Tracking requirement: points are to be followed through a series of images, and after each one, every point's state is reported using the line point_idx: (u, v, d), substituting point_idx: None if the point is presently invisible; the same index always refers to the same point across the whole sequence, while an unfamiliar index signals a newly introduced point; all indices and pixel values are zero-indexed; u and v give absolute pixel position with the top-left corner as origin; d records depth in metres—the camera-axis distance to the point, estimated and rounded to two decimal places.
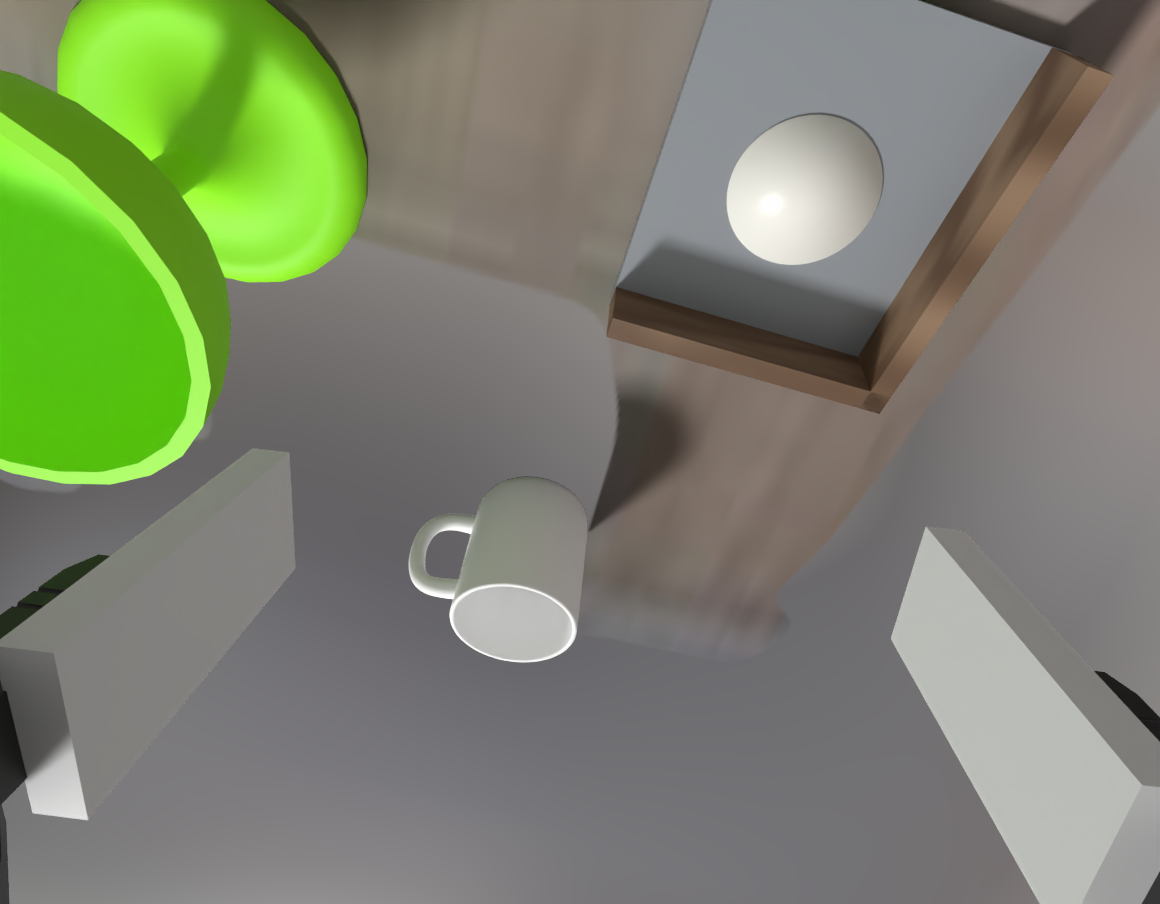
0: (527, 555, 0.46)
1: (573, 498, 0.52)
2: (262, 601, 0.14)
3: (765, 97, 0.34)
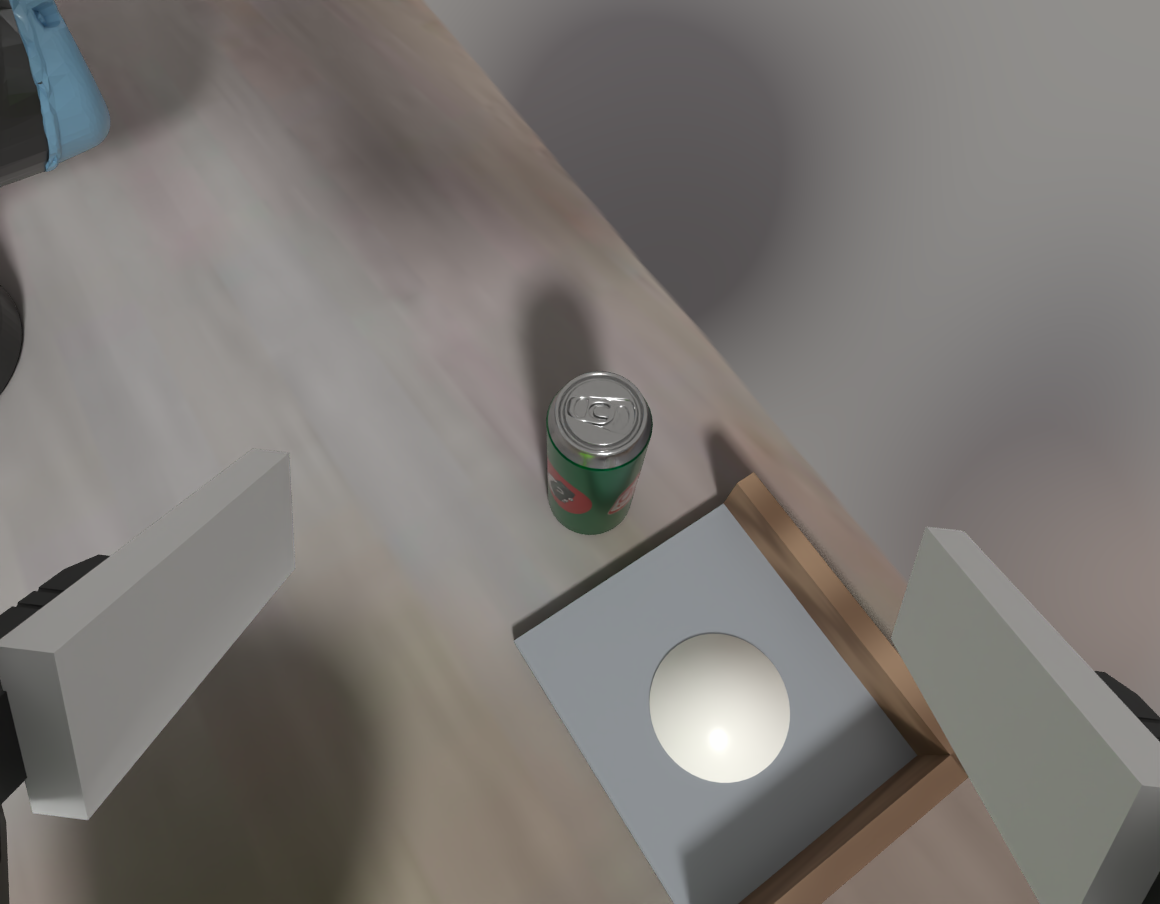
0: None
1: None
2: (262, 601, 0.14)
3: (625, 685, 0.39)
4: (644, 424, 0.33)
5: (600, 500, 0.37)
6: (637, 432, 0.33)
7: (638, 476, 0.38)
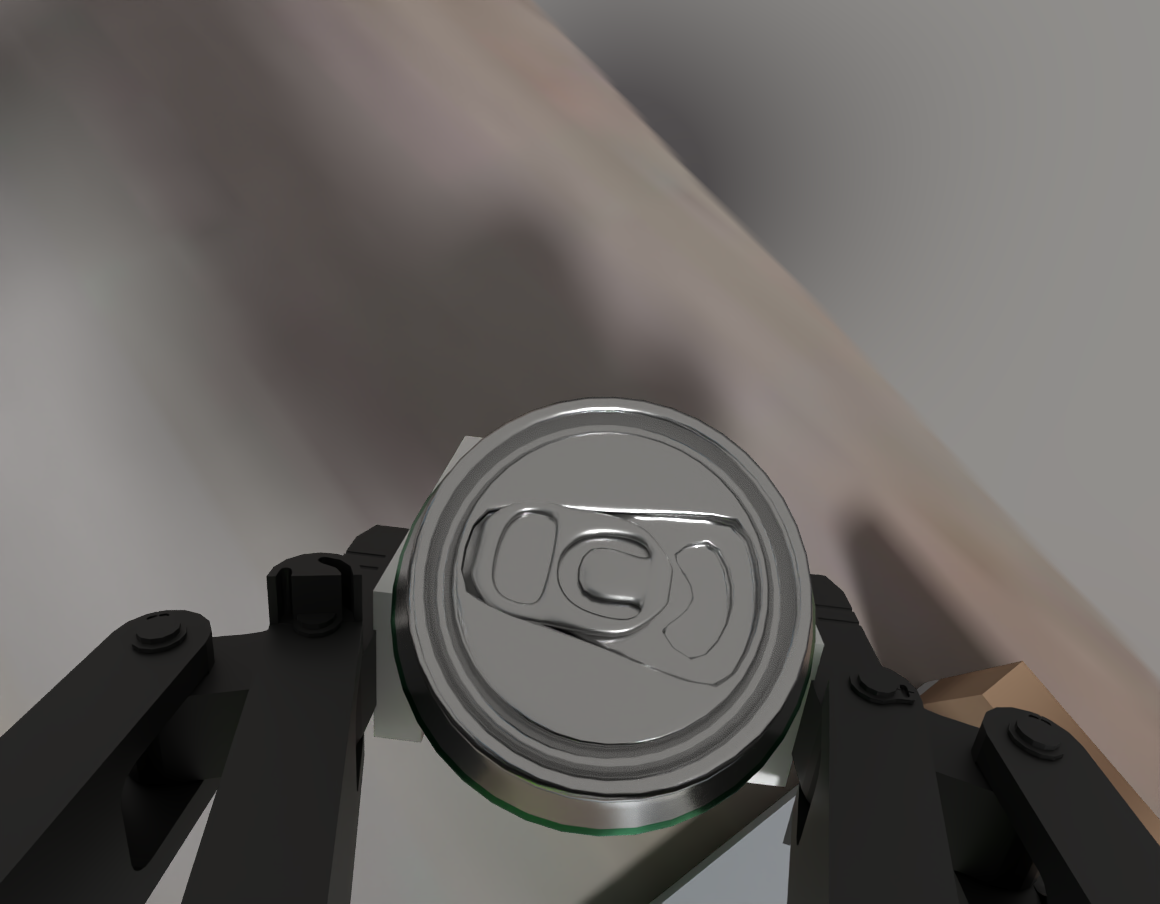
0: None
1: None
2: None
3: None
4: (805, 636, 0.07)
5: None
6: (777, 677, 0.07)
7: None
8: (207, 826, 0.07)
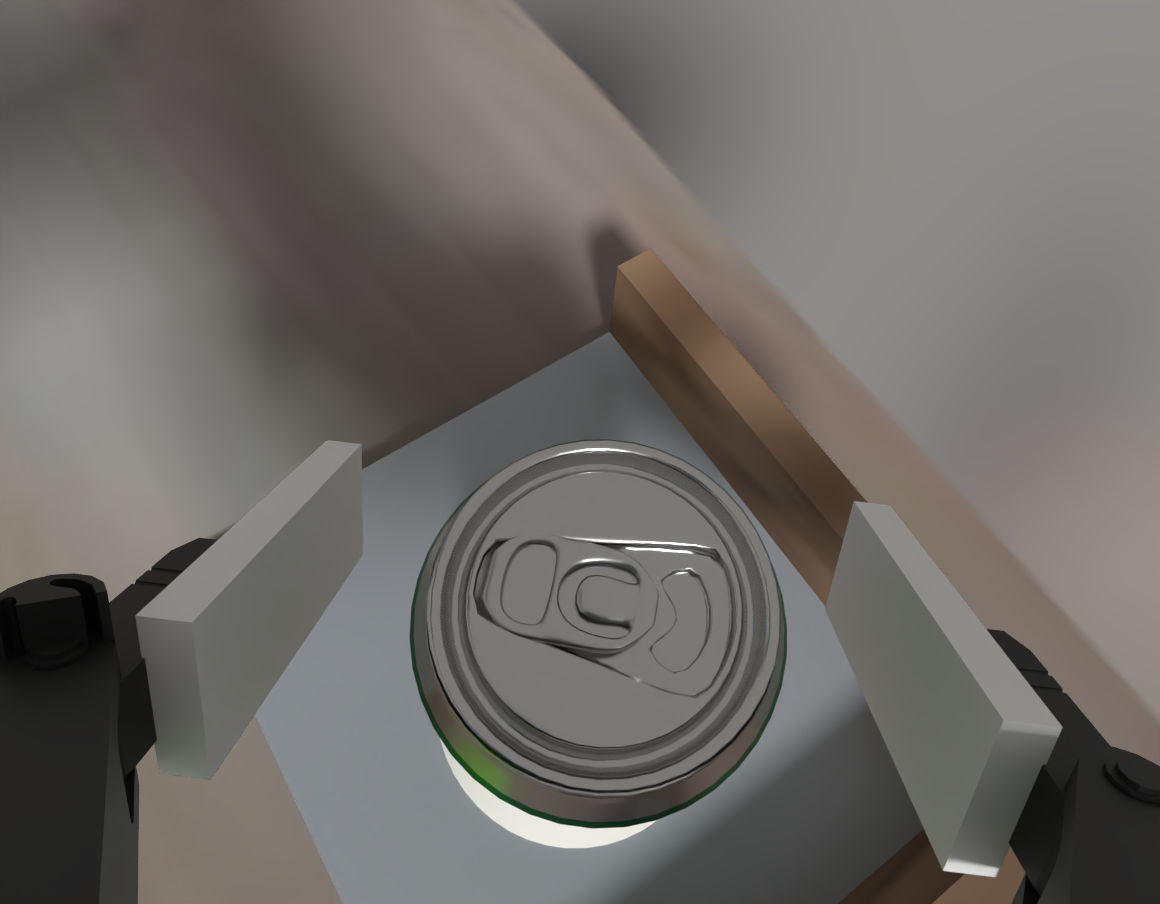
0: None
1: None
2: (338, 584, 0.15)
3: (392, 652, 0.20)
4: (774, 654, 0.09)
5: None
6: (749, 689, 0.08)
7: None
8: None
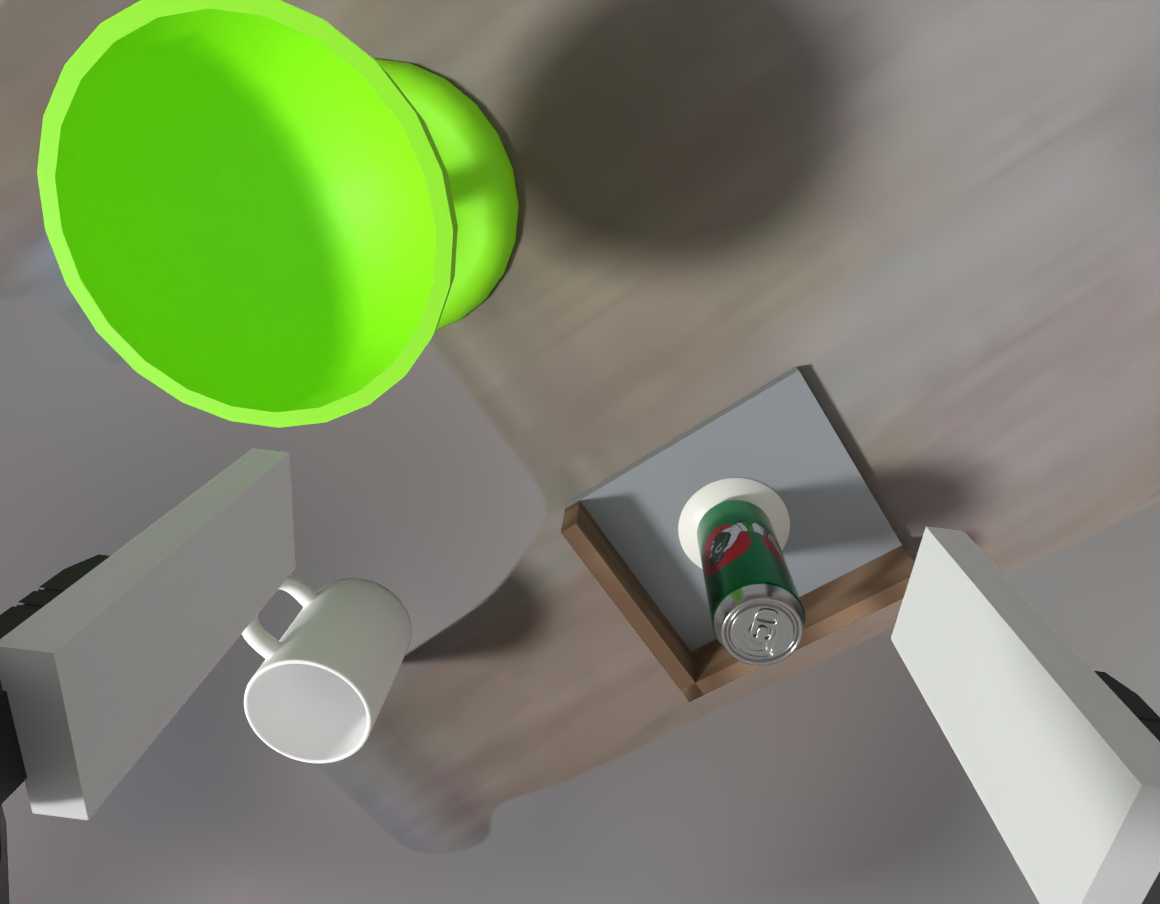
0: (365, 658, 0.48)
1: (410, 629, 0.55)
2: (262, 601, 0.14)
3: (753, 460, 0.48)
4: (747, 663, 0.40)
5: (705, 584, 0.44)
6: (740, 658, 0.40)
7: None
8: None
